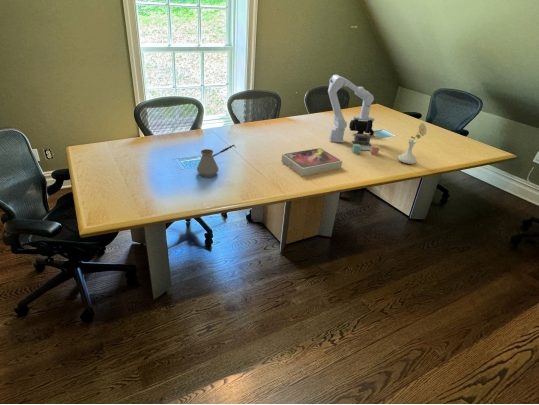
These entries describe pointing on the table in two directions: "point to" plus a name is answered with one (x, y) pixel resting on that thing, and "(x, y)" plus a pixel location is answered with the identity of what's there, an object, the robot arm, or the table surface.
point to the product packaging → (311, 161)
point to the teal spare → (356, 148)
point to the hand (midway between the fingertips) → (361, 130)
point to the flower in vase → (408, 156)
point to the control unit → (362, 139)
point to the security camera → (361, 127)
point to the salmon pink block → (374, 150)
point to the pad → (365, 148)
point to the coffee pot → (209, 162)
